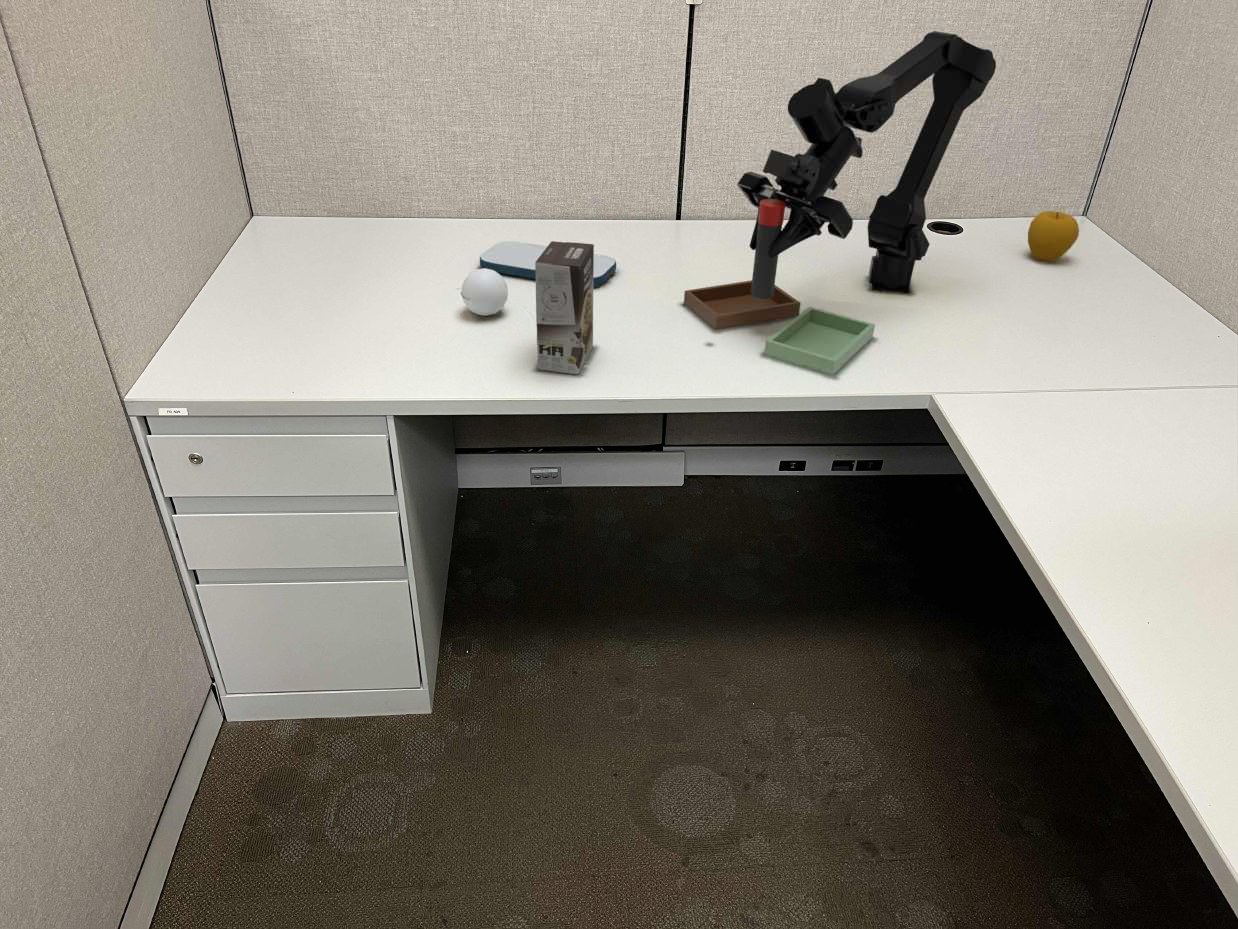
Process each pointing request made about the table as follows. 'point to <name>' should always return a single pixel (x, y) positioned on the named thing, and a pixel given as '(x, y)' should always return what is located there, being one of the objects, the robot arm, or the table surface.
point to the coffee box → (564, 306)
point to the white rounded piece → (484, 292)
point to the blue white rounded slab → (523, 258)
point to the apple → (1052, 235)
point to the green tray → (819, 340)
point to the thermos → (766, 247)
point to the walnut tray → (738, 305)
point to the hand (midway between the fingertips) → (760, 252)
